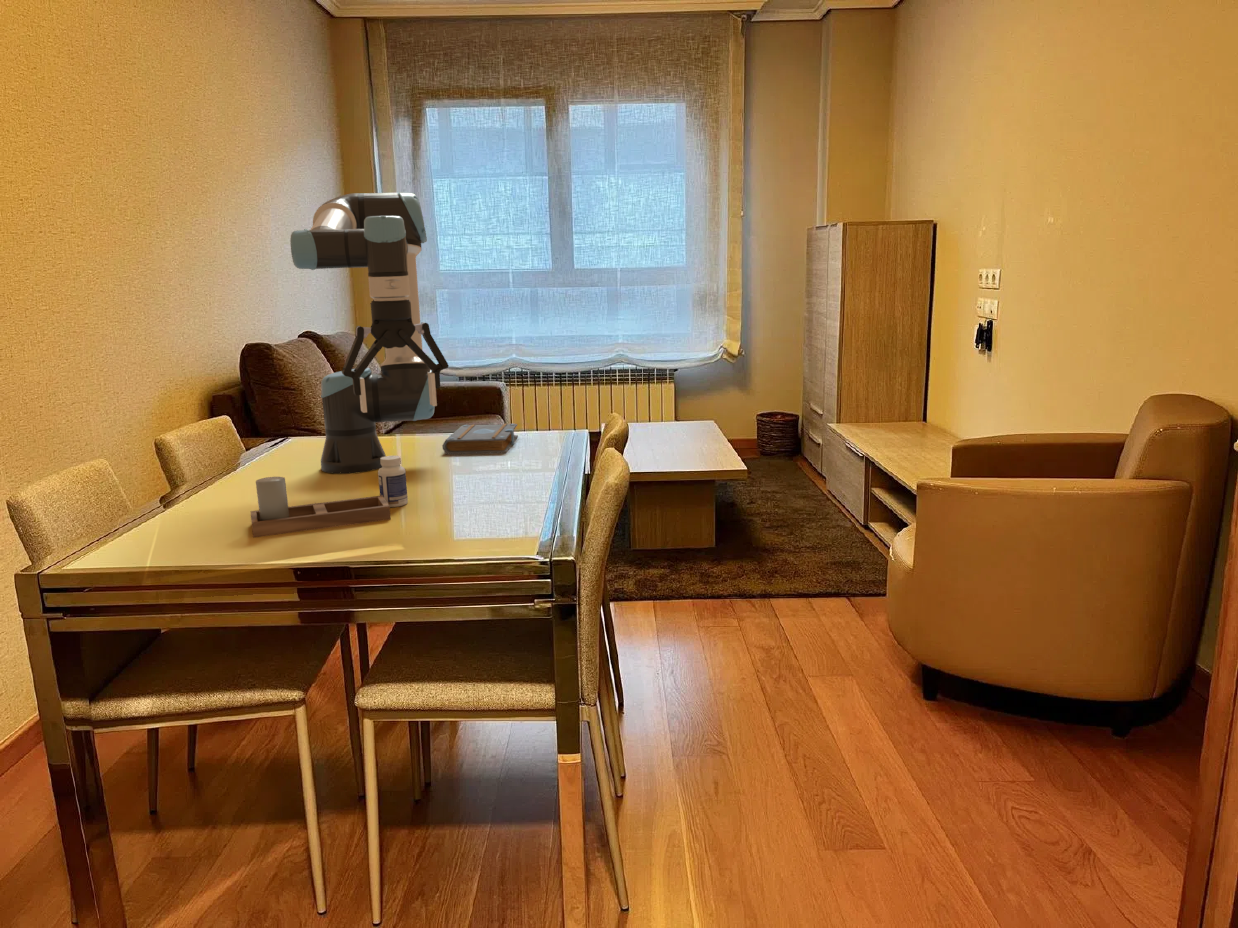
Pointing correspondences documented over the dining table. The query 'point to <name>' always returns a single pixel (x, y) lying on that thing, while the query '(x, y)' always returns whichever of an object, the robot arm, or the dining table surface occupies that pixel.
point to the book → (481, 439)
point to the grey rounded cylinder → (272, 498)
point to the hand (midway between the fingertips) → (399, 408)
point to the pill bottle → (392, 481)
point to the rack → (323, 516)
